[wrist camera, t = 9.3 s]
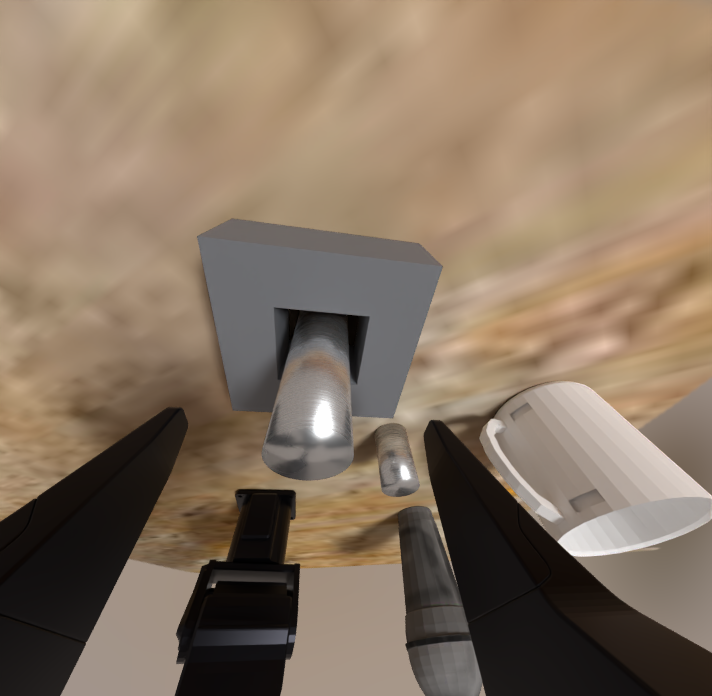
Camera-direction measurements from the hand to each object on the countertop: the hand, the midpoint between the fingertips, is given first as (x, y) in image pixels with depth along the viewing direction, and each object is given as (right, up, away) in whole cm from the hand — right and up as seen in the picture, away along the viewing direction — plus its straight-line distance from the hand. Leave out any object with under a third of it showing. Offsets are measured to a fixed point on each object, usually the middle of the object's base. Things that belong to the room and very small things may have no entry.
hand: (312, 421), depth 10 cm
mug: (+17, -3, +14) cm, 22 cm away
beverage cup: (+10, -20, +25) cm, 33 cm away
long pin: (0, +5, +7) cm, 9 cm away
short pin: (+5, -5, +15) cm, 16 cm away
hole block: (0, +5, +7) cm, 9 cm away
